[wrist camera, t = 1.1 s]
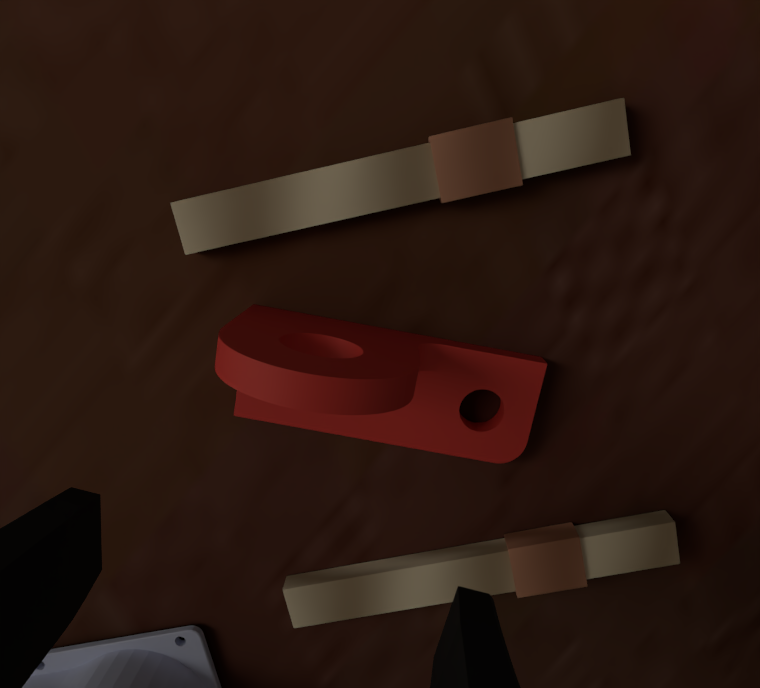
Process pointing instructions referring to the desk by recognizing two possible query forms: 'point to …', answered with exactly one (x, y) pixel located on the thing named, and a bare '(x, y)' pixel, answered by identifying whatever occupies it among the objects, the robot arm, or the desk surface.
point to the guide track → (448, 183)
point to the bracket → (377, 383)
